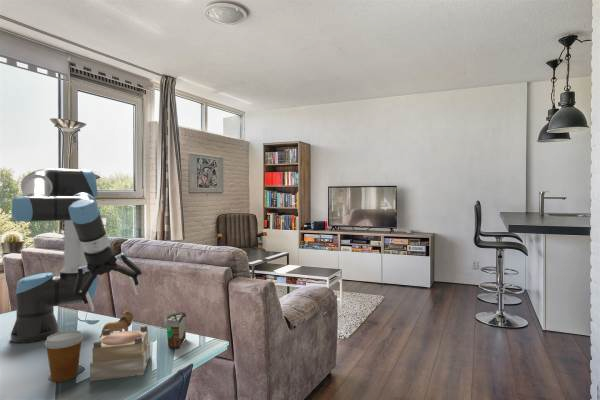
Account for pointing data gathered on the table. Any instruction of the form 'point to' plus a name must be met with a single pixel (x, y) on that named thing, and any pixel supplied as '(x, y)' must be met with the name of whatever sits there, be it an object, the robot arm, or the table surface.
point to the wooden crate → (120, 354)
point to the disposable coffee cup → (64, 354)
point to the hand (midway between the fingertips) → (115, 300)
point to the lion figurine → (120, 323)
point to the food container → (176, 329)
